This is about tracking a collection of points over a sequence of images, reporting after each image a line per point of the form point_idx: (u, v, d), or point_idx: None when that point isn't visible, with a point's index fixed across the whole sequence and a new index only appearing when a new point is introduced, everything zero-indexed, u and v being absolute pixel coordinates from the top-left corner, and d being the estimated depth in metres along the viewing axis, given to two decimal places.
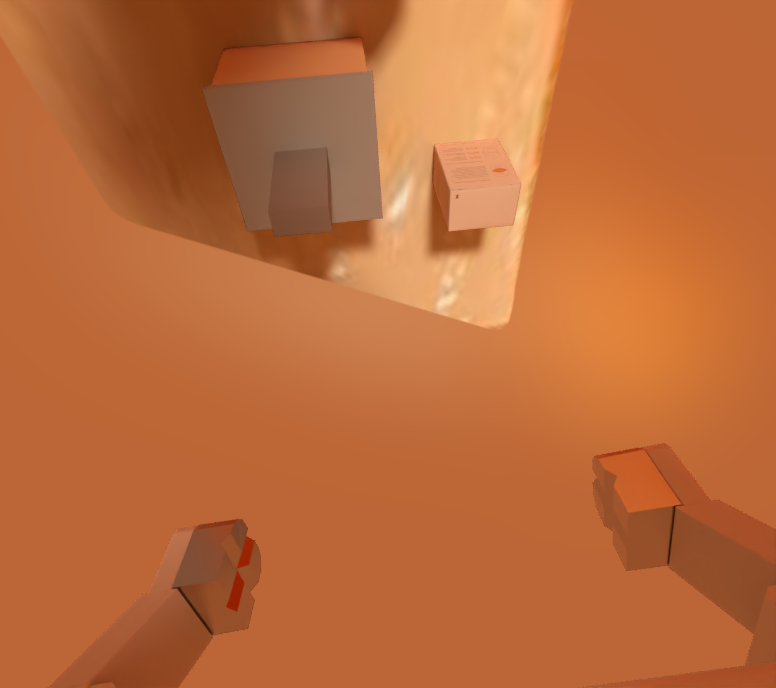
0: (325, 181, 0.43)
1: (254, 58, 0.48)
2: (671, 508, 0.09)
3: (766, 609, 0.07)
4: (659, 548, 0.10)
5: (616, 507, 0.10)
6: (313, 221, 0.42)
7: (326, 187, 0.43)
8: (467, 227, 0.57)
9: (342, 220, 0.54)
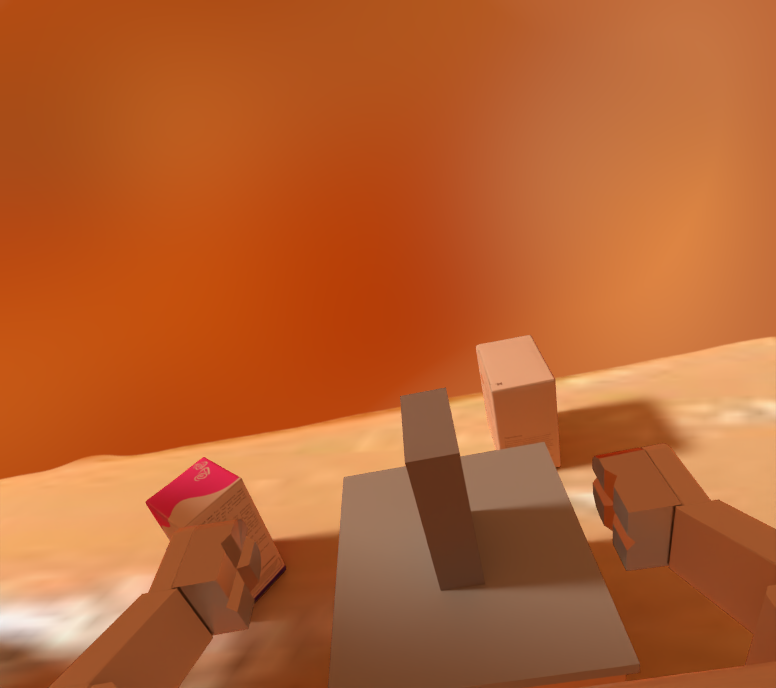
0: None
1: None
2: (671, 508, 0.09)
3: (766, 609, 0.07)
4: (659, 548, 0.10)
5: (616, 507, 0.10)
6: (427, 408, 0.25)
7: None
8: (542, 365, 0.43)
9: (561, 489, 0.31)
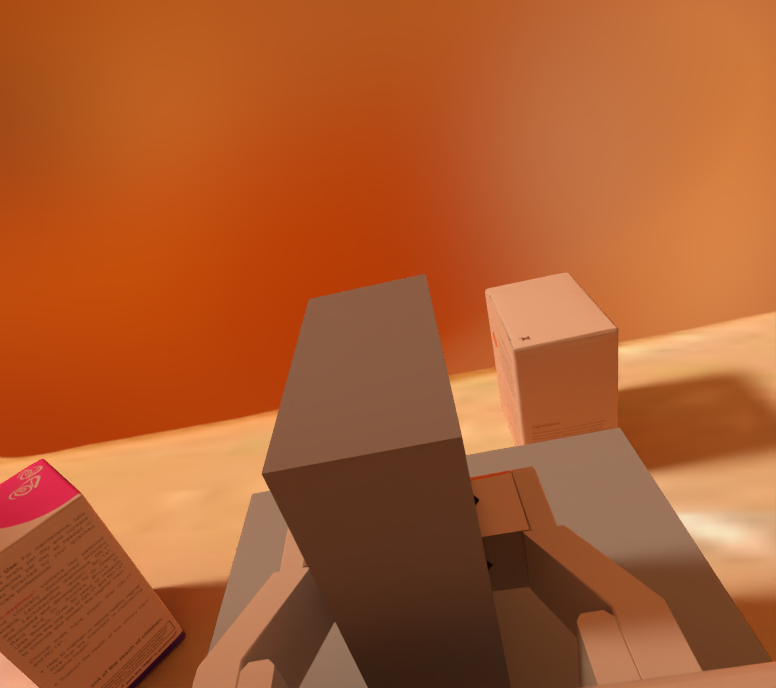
0: None
1: None
2: (520, 532, 0.09)
3: (578, 636, 0.08)
4: (517, 570, 0.10)
5: None
6: (372, 317, 0.09)
7: None
8: (594, 309, 0.27)
9: (674, 523, 0.15)
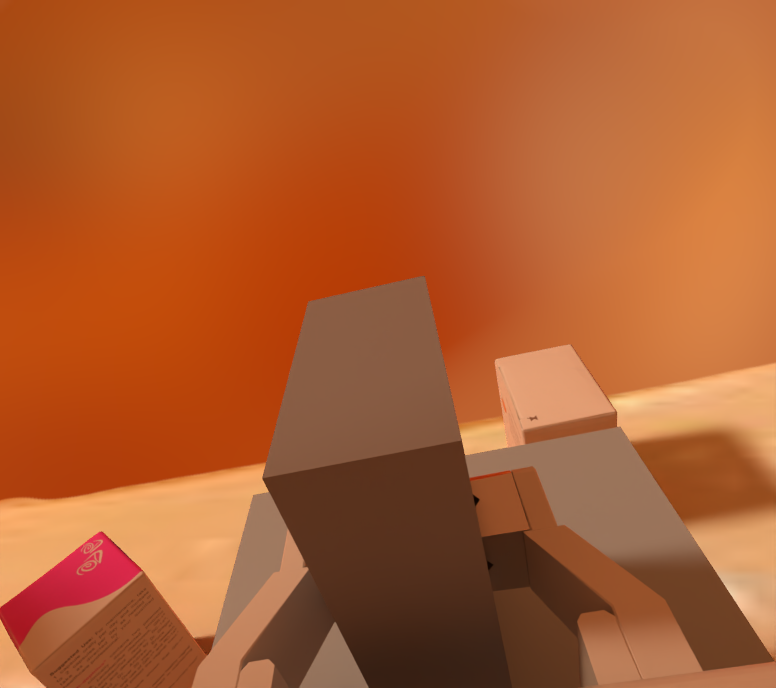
0: None
1: None
2: (521, 533, 0.09)
3: (579, 636, 0.08)
4: (517, 570, 0.10)
5: None
6: (372, 320, 0.09)
7: None
8: (595, 389, 0.30)
9: (674, 522, 0.15)
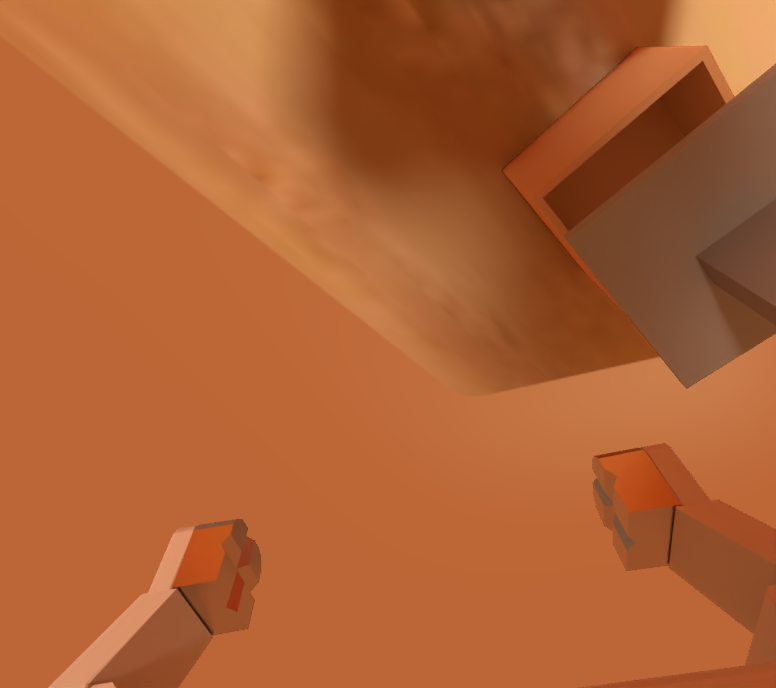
0: None
1: (542, 149, 0.41)
2: (671, 508, 0.09)
3: (766, 609, 0.07)
4: (659, 548, 0.10)
5: (617, 507, 0.10)
6: None
7: None
8: None
9: None
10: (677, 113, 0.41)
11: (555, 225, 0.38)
